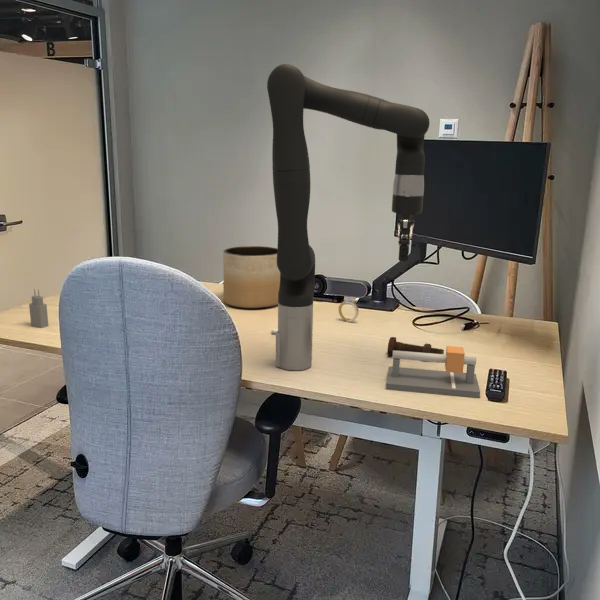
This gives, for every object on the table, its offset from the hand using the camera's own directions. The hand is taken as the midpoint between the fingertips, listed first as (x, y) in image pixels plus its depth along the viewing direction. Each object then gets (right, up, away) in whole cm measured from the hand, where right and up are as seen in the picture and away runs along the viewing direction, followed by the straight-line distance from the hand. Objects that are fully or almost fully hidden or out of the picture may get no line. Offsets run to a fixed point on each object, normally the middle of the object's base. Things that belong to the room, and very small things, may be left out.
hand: (403, 258), depth 148 cm
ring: (-10, -18, +50) cm, 54 cm away
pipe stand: (+6, -32, -3) cm, 32 cm away
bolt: (+6, -27, +16) cm, 32 cm away
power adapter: (-110, -19, +39) cm, 118 cm away
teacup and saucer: (-34, -21, +39) cm, 56 cm away
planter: (-44, -12, +72) cm, 85 cm away
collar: (+12, -28, -5) cm, 30 cm away
